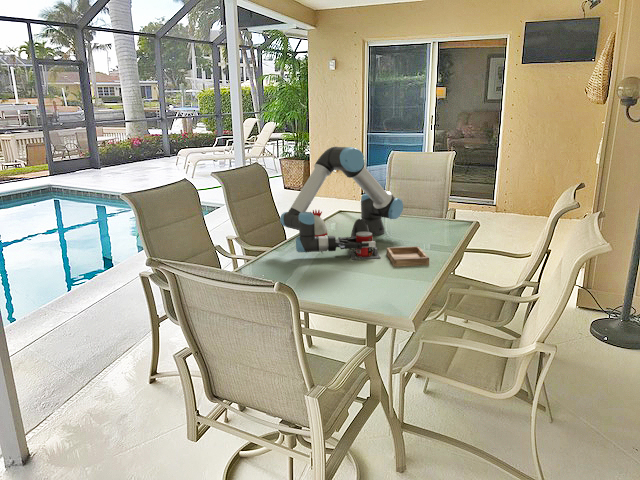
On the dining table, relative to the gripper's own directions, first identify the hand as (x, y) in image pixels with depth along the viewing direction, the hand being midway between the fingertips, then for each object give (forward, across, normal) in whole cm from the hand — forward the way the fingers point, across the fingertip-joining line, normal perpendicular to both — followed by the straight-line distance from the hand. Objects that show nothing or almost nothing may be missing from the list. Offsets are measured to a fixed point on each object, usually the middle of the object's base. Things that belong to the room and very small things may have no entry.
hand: (374, 241), depth 240 cm
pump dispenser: (-5, -15, -7) cm, 17 cm away
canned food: (-5, 0, -7) cm, 8 cm away
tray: (+14, +10, -7) cm, 19 cm away
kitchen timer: (-27, -45, -7) cm, 53 cm away
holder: (-5, 0, -7) cm, 8 cm away
